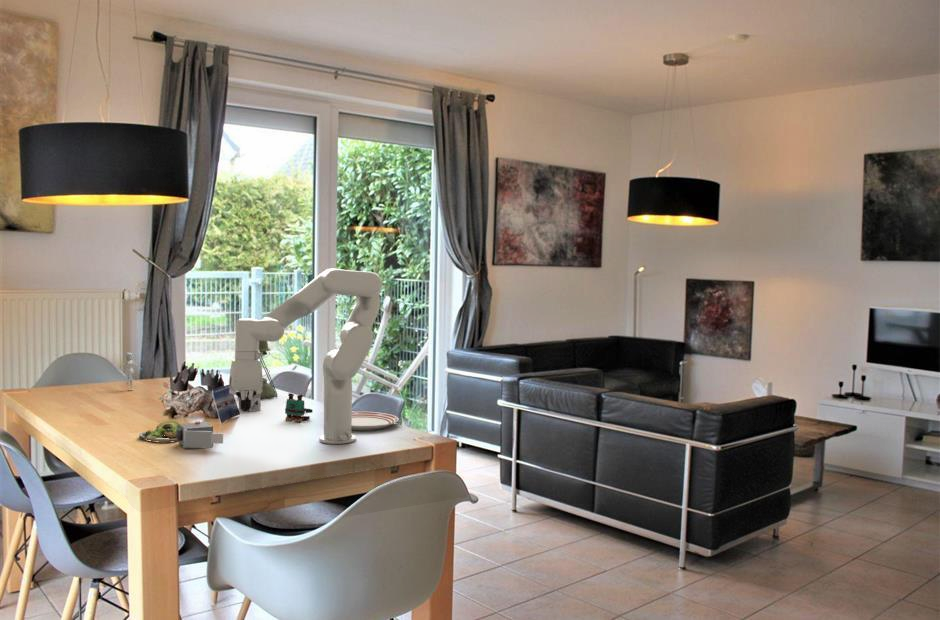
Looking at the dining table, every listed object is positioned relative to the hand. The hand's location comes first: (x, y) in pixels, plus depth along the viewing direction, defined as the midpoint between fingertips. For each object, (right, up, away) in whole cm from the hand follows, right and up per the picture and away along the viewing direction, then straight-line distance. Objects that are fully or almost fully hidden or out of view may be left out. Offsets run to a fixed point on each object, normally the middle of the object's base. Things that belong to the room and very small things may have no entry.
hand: (245, 411), depth 253 cm
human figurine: (-87, -5, +110) cm, 140 cm away
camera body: (-18, -12, +3) cm, 21 cm away
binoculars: (+7, -10, +48) cm, 49 cm away
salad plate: (-31, -11, +14) cm, 36 cm away
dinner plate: (+33, -11, +39) cm, 52 cm away
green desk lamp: (-23, -7, +98) cm, 101 cm away
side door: (-13, -12, -4) cm, 18 cm away
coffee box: (-18, -8, +67) cm, 70 cm away
